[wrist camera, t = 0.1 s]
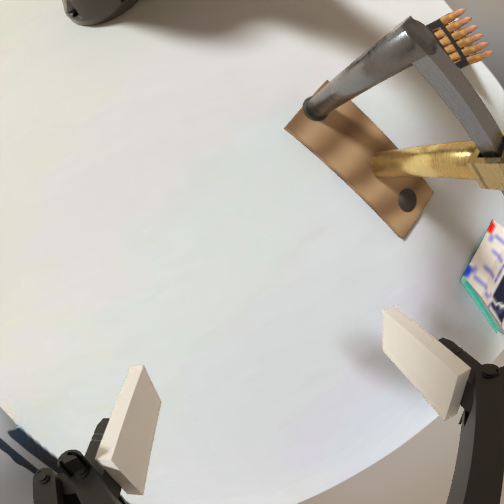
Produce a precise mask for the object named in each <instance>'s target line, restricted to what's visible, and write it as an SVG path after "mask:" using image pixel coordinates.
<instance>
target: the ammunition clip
mask: <svg viewBox="0 0 504 504" xmlns="http://www.w3.org/2000/svg"><path fill="white" fill-rule="evenodd" d="M465 10H466V9H459V10H456V11H454V12H452V13H448V14H446V15H445V16H443V17H441V18H440V19H438V20H436V21H434V22H432V23H430V24H428V25H426V27H427V28H428V29H429V30H430V31H431V32H432V34H433V35H434V37H435V39H436V42H437V43H438V45H439V46H440V47H441V48H442V49H443V50H444V51H445V53H446V54H447V55H448V56H449V57H450V58H451V60H452V61H453V62H454V63H455V65H456V66H457V67H458V68H459V69H461V68H463V67H465V66H467V65H470V64H473V63H476V62H479V61H481V60H482V59H485V58H486V57H489V56H490V55H492V54H493V51H484V52H481V53H476V52H477V51H479V50H481V49H483V48H485V47H486V46H487V45H488V43H487V42H482V43H478V44H475V45H470V44H472V43H473V42H475V41H477V40H479V39H480V38H481V37H482V36H483V34H475V35H472V36H469V37H465V36H466V35H468V34H469V33H471V32H473V31H474V30H475V29H476V28H477V26H476V25H473V26H469V27H466V28H463V29H459V28H461V27H462V26H463V25H465V24H467V23H468V22H469V21H470V20H471V19H472V18H471V17H466V18H462V19H460V20H457V21H454V20H455V19H456V18H457V17H459V16H460V15H462V14H463V13H464V12H465ZM452 21H454V22H452ZM450 22H452V23H450ZM448 23H450V24H448ZM440 28H441V29H440ZM438 29H439V30H438ZM457 29H459V30H457ZM456 30H457V31H456ZM454 31H455V32H454ZM446 35H447V36H446ZM444 36H445V37H444ZM442 37H443V38H442ZM463 37H465V38H463ZM461 38H462V39H461ZM459 39H460V40H459ZM450 43H451V44H450ZM448 44H449V45H448ZM468 45H470V46H468ZM466 46H467V47H466ZM464 47H465V48H464ZM454 51H455V52H454ZM452 52H453V53H452ZM473 53H475V54H473ZM471 54H472V55H471ZM469 55H470V56H469ZM458 59H459V60H458Z"/></svg>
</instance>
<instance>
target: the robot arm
mask: <svg viewBox="0 0 504 504" xmlns="http://www.w3.org/2000/svg"><path fill="white" fill-rule="evenodd" d="M62 1H63V6H64V10H65V13H66V15H67V16H68V17H69V18H70V19H71V20H72V21H73V22H74V23H76V24H78V25H84V26H89V25H96V24H100V23H103V22H106V21H109V20H111V19H113V18H115V17H117V16H119V15H120V14H122V13H124V12H125V11H126V10H128V9H129V8H130V7H132V6H133V5H134V4H135V3H136V2H137V1H138V0H62ZM382 350H383V352H384V353H385V354H386V355H387V356H388V357H389V358H390V359H391V360H392V362H393V363H394V364H395V365H396V366H397V367H398V368H399V369H400V371H401V372H402V373H403V374H404V375H405V376H406V377H407V378H408V380H409V381H410V382H411V383H412V384H413V385H414V386H415V388H416V389H417V390H418V391H419V392H420V393H421V394H422V396H423V397H424V398H425V399H426V400H427V401H428V403H429V404H430V405H431V406H432V407H433V408H434V410H435V411H436V412H437V413H438V414H439V415H440V417H441V418H442V419H443V420H444V421H445V420H447V419H449V418H450V417H451V416H454V415H455V414H457V411H458V409H459V406H460V405H461V406H462V407H463V408H464V412H463V414H462V417H461V419H460V422H459V424H461V422H462V426H461V434H460V442H459V449H458V455H457V460H456V466H455V471H454V476H453V480H452V484H451V489H450V493H449V496H448V500H447V504H500V497H501V491H502V482H503V473H504V366H503V367H500V368H499V367H498V366H496V365H493V364H484V365H481V364H480V363H479V362H478V361H476V360H475V359H474V358H473V357H471V356H470V355H469V354H468V353H466V352H465V351H463V349H461V348H460V347H458V346H457V345H456V344H455V343H454V342H452V341H450V340H448V339H445V338H441V339H439V340H437V339H435V338H434V337H433V336H432V335H430V334H429V333H428V332H427V331H425V330H424V329H423V328H422V327H420V326H419V325H418V324H417V323H415V322H414V321H413V320H412V319H410V318H409V317H408V316H407V315H405V314H404V313H403V312H401V311H400V310H399V309H398V308H396V307H395V306H392V307H389V308H386V309H383V344H382ZM160 407H161V400H160V398H159V396H158V394H157V392H156V390H155V388H154V386H153V384H152V382H151V380H150V377H149V375H148V373H147V371H146V369H145V367H144V365H139V366H131V368H130V370H129V373H128V375H127V377H126V380H125V382H124V385H123V387H122V389H121V392H120V394H119V397H118V399H117V402H116V404H115V407H114V409H113V412H112V414H111V417H110V418H103V419H102V421H101V422H100V423H99V424H98V425H97V427H96V429H95V432H94V435H93V437H92V441H91V442H90V444H89V447H88V449H87V452H86V454H85V457H84V456H83V455H82V453H81V452H80V451H78V450H68V451H66V452H64V453H63V454H61V456H60V457H59V459H58V462H57V464H58V467H59V468H60V469H61V470H62V471H63V472H64V473H62V474H55V473H54V472H53V471H52V470H51V469H50V468H42V469H39V470H38V471H37V472H36V473H35V475H34V477H33V499H34V504H128V503H127V502H126V500H125V499H124V498H123V497H122V496H121V495H120V492H121V488H122V489H123V490H124V491H125V492H126V493H127V494H134V495H143V494H144V488H145V482H146V476H147V471H148V465H149V460H150V455H151V450H152V444H153V440H154V435H155V430H156V425H157V420H158V416H159V411H160Z"/></svg>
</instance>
